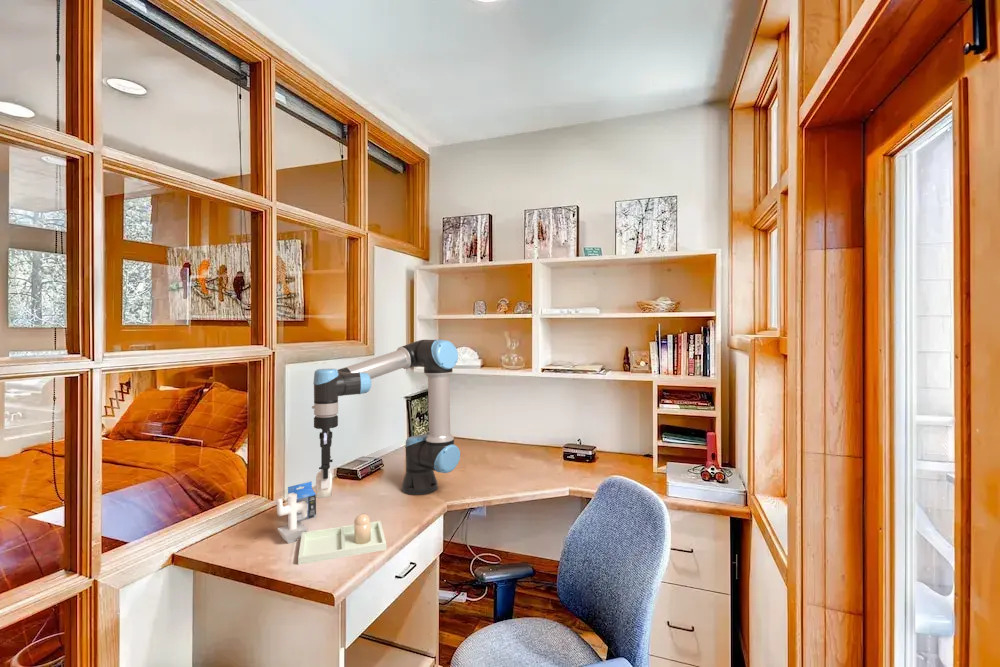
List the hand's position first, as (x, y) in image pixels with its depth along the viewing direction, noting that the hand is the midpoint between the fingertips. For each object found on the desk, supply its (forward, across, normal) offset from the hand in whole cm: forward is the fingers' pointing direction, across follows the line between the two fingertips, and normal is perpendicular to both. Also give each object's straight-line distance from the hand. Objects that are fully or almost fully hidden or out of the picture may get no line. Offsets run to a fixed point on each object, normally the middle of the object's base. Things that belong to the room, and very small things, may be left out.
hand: (326, 485), depth 153 cm
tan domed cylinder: (+16, +9, +11) cm, 22 cm away
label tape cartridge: (+18, -20, -9) cm, 28 cm away
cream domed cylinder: (+3, 0, -1) cm, 4 cm away
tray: (+18, +9, +5) cm, 20 cm away
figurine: (+18, -3, -10) cm, 21 cm away
